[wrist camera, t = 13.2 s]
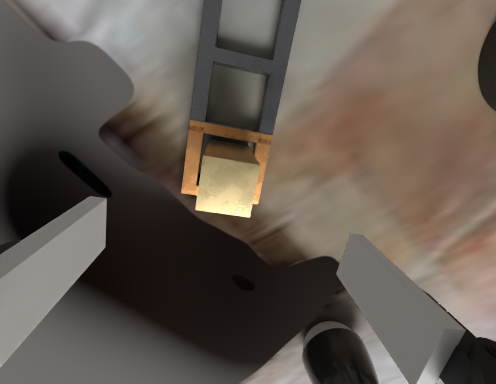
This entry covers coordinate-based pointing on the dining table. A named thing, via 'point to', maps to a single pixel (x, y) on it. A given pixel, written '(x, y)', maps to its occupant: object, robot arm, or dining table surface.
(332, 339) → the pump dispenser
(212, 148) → the brass peg
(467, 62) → the dining table surface
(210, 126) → the rail
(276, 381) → the dining table surface
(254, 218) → the dining table surface
